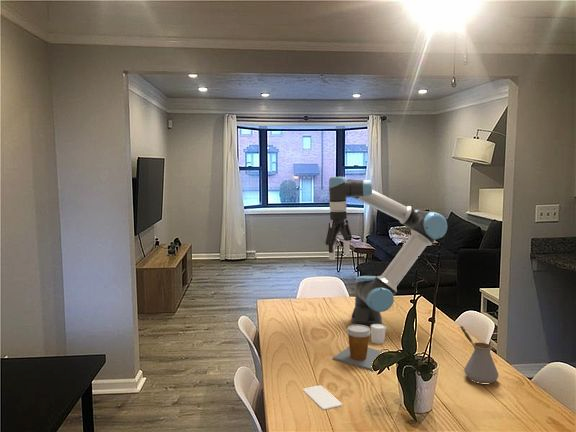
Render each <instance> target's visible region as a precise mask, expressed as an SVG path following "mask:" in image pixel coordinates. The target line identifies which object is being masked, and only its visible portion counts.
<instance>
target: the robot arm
mask: <svg viewBox="0 0 576 432" xmlns="http://www.w3.org/2000/svg"><path fill="white" fill-rule="evenodd" d="M328 193H329V194H328V195H329V210H330V212H329V220H331V221H332V222H329V223H328V229H327V234H326V238H325V245H326V246H328V260H332V261H335V260H336V246H335V242H336V239H337V236H338V234H339V233H341V236H342V237H343V239H344V240H343V241H342V242H343V255H345V256H350V254H351V252H350V251H351V250H350V249H351V248H350V241H353V240H352V239H353V236H352V233H351V229H350V226H349V220H348V219H347V218H348V217H347V215H348V213H347V198H354V199H355V200H358V201H360V202H362V203H364V204H366V205H368V206H370V207H372V208H373V209H377V210H378V211H380V212H382V213H383V214H386V215H387V216H389V217H392V218H394V219H396V220H398V221H399V223H400V224H402V225H403V226H405V227H407V228H409V229H410V235H409V237H408V238H407V240H406V242H405V243H404V244H403V246H402V247H400V249H399V250H398V252H397V254H396V255H395V257H394V258H393V259H392V261H391V262H390V263H389V264H388V266H387V267H386V268H385V270H384V272H382V274H381V275H377V276H376V275H361V276H357V277H356V278H355V283H354V285H355V290H354V291H355V292H354V293H355V296H354V297H355V300H354V301H355V302H354V303H355V304H354V308H353V311H352V313H351V317H350V318H351V323H353V325H364V326H367V327H371V326H370V325H372V324H382V323H383V317H382V314H381V313H383V312H386V311H388V310H389V309H390V308H392V306H393V304H394V302H395V300H394V298H395V297H394V296H395V295H396V293H397V292H398V290H397V286H399V284H400V282H401V281H402V280H403V278H404V277H405V276H406V274H407V273H408V272H409V271H410V269H411V268H412V267H413V265H414V264H415V263H416V261H417V260H418V259H419V257H420V256H421V254H422V253H423V251H424V250H425V249H426V248H427V246H432V245H433V244H434V243H435V241H436V240H437V239H441V238H443V237H444V236H445V235H446V233H447V231H448V223H447V219H446V218H445V216H444V215H442V214H441V213H438V212H435V211H427V210H423V209H418V208H415V207H413V206H411V205H407V206H406V205H404V204H402V203H400V202H398V201H396V200H395V199H392V198H390V197H388V196H386V195H384V194H382V193H381V192H378V191H376V190H374V189H373V184H372V181H371V180H369V179H346V177H345V176H330V177H329V179H328ZM418 256H419V257H418Z"/></svg>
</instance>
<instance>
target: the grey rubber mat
mask: <svg viewBox="0 0 576 432" xmlns="http://www.w3.org/2000/svg"><path fill="white" fill-rule="evenodd" d="M382 352H385V351H383V350H379V349H375V348H372V347H368V349H367V356H366V359H365V360H354V359H352V358H351V357H350V348H349V346H348V347H347V348H345V349H344V350H342V351H340V352H339V353H338V354H336V355H334V356H333V357H332V360H334V361H337V362H339V363H340V362H341V363H345V364H348V365H351V366H355V367H359V368H362V369H365V370H368V371H371V370H372V367H371V366H372V362H373V361H374V359H375V358H376V357H377V356H378V355H379V354H380V353H382Z"/></svg>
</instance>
